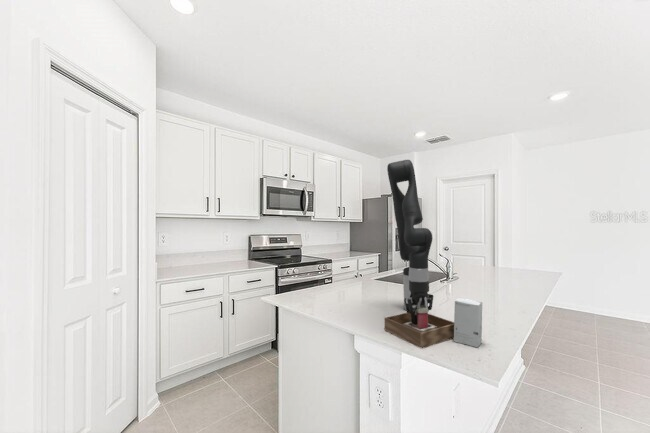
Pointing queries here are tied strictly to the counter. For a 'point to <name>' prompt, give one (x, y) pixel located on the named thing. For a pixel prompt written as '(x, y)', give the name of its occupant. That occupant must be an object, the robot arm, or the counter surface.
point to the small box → (421, 318)
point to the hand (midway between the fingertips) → (419, 322)
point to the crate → (420, 337)
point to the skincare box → (468, 322)
